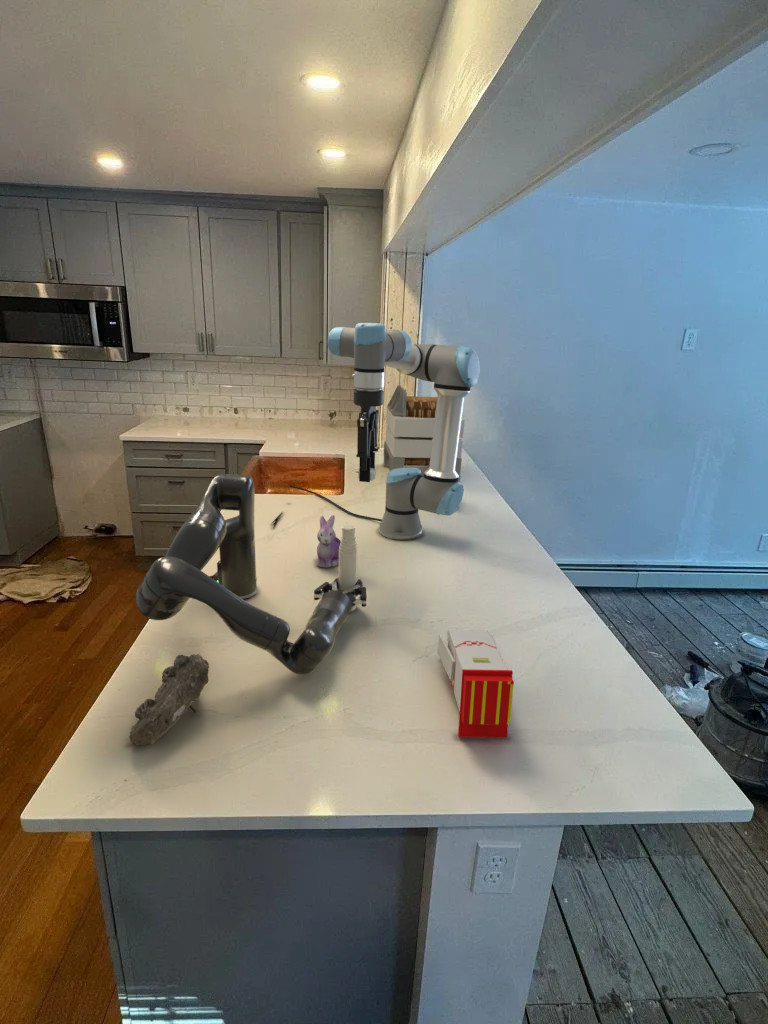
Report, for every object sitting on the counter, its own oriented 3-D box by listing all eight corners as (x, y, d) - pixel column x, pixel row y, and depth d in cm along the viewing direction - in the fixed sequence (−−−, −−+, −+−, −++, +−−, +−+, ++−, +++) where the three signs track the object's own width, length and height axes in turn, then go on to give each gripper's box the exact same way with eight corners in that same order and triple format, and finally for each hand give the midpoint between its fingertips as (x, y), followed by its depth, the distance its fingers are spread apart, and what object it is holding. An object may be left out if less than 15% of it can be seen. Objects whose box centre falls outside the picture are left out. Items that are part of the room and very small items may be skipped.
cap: (354, 478, 148) (354, 469, 148) (365, 474, 152) (366, 466, 151) (367, 482, 146) (368, 473, 145) (378, 478, 149) (379, 469, 148)
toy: (488, 613, 130) (523, 677, 101) (484, 667, 133) (517, 744, 104) (435, 612, 130) (455, 676, 101) (432, 666, 133) (451, 743, 103)
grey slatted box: (382, 463, 289) (386, 382, 275) (445, 464, 293) (451, 384, 279) (390, 482, 257) (394, 392, 243) (460, 483, 261) (468, 394, 247)
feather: (289, 506, 225) (292, 502, 225) (272, 529, 199) (275, 525, 198) (286, 503, 225) (288, 500, 225) (268, 527, 199) (271, 522, 198)
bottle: (342, 602, 152) (343, 522, 144) (358, 605, 151) (360, 525, 143) (335, 610, 148) (336, 528, 140) (351, 613, 147) (353, 531, 139)
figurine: (321, 571, 169) (321, 524, 164) (309, 557, 177) (309, 512, 172) (350, 565, 173) (351, 520, 168) (337, 553, 182) (338, 509, 177)
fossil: (160, 655, 118) (210, 623, 113) (193, 685, 121) (243, 655, 116) (104, 739, 99) (161, 705, 94) (145, 772, 102) (202, 741, 97)
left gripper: (302, 622, 137) (324, 590, 152) (360, 630, 134) (375, 597, 150) (302, 594, 134) (324, 564, 150) (361, 602, 131) (377, 571, 147)
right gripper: (362, 382, 149) (361, 468, 157) (344, 393, 133) (344, 487, 142) (390, 384, 148) (387, 470, 156) (375, 395, 132) (373, 490, 140)
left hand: (350, 581), depth 150 cm, fingers closed on bottle, 4 cm apart
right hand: (367, 478), depth 149 cm, fingers closed on cap, 4 cm apart
